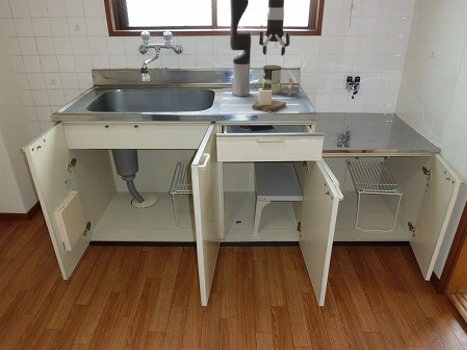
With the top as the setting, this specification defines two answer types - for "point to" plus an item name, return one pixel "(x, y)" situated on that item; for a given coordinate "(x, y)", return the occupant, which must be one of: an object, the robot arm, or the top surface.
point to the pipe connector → (289, 86)
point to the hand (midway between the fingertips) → (273, 54)
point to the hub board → (270, 106)
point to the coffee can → (272, 77)
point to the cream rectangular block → (265, 96)
